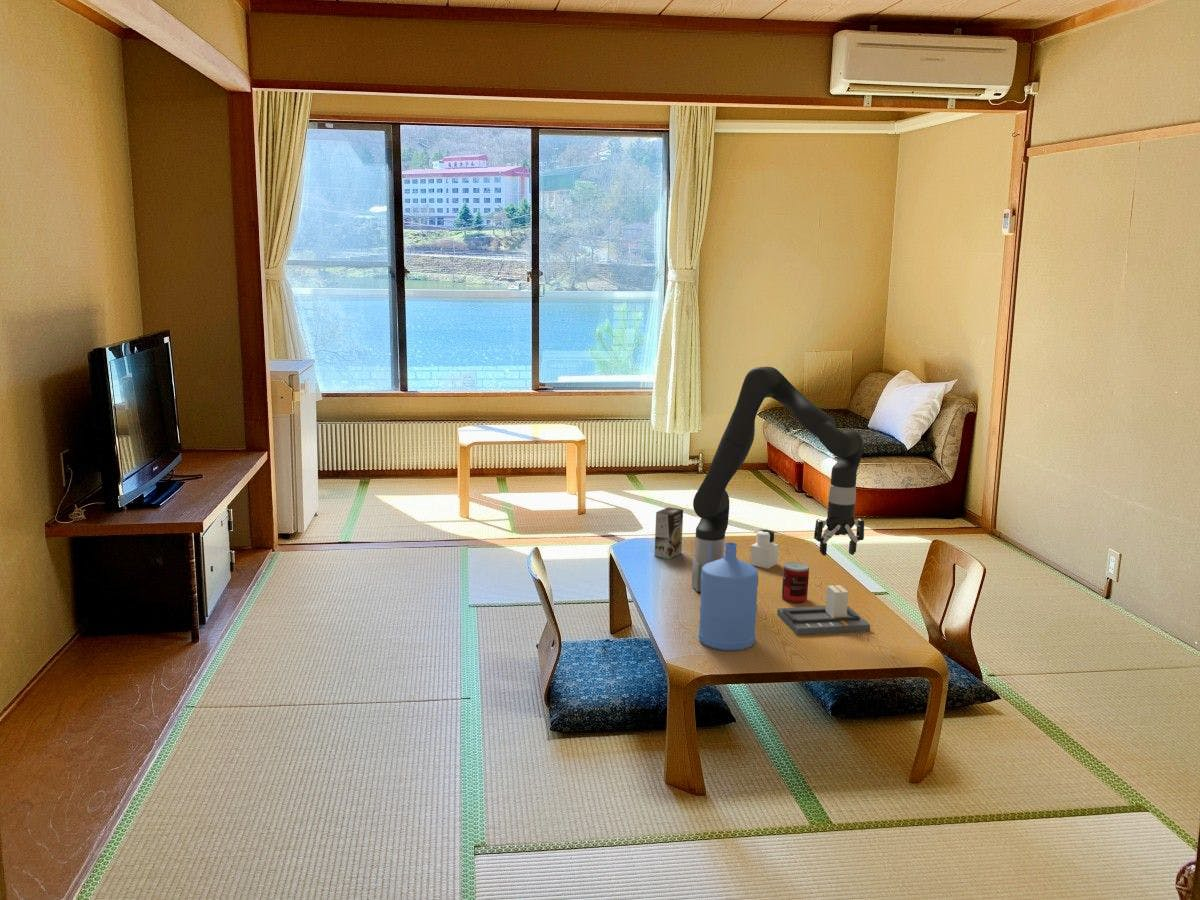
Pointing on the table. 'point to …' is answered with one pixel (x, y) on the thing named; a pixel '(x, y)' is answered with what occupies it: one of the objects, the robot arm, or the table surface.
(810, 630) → the console
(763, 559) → the medicine bottle
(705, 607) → the water jug
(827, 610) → the block
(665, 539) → the coffee box
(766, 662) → the table surface
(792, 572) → the canned food
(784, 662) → the table surface
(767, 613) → the table surface
